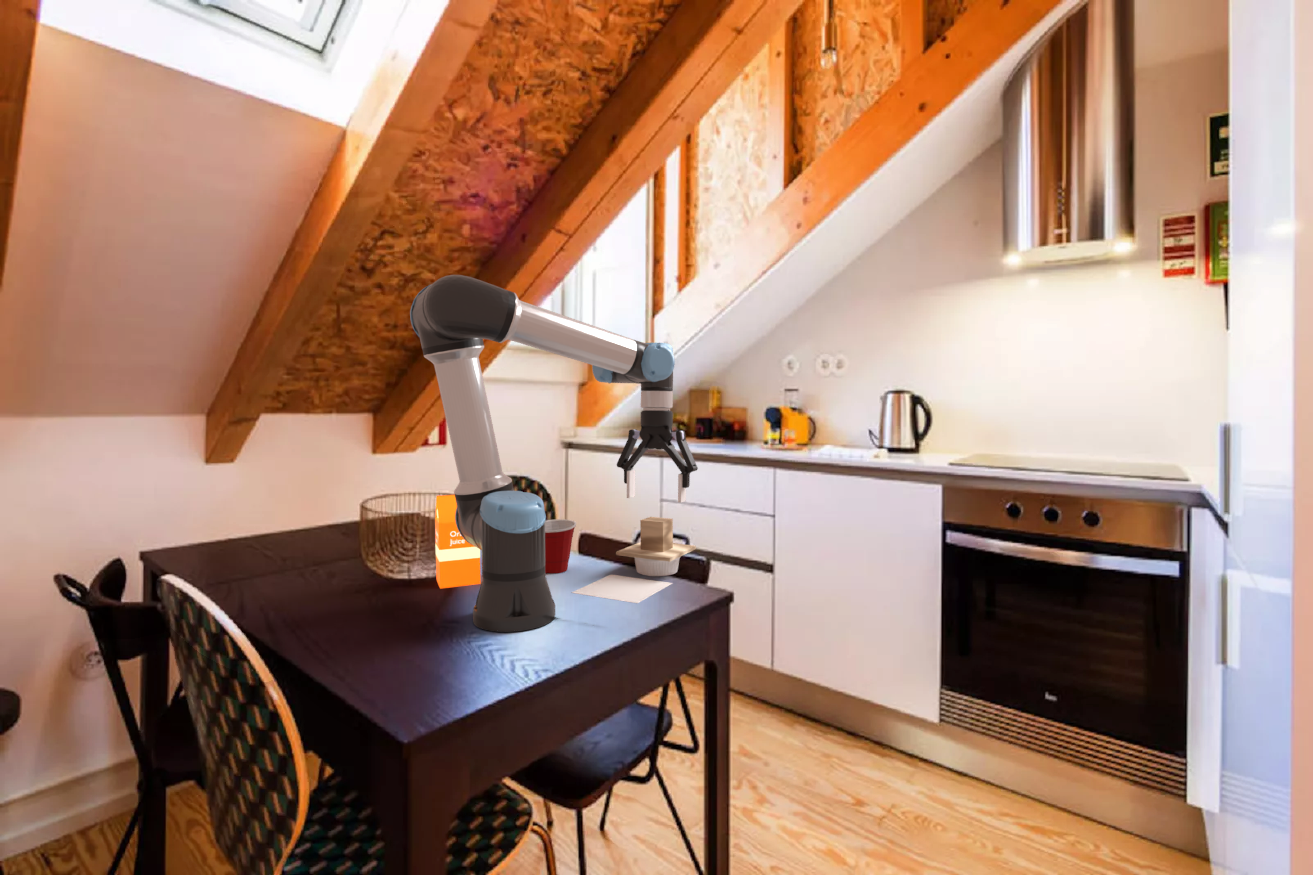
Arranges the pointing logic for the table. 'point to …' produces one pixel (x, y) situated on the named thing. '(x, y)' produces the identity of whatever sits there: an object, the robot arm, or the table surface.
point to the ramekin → (656, 567)
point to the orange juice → (453, 548)
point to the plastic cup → (558, 544)
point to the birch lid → (656, 541)
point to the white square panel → (623, 588)
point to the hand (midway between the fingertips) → (655, 499)
